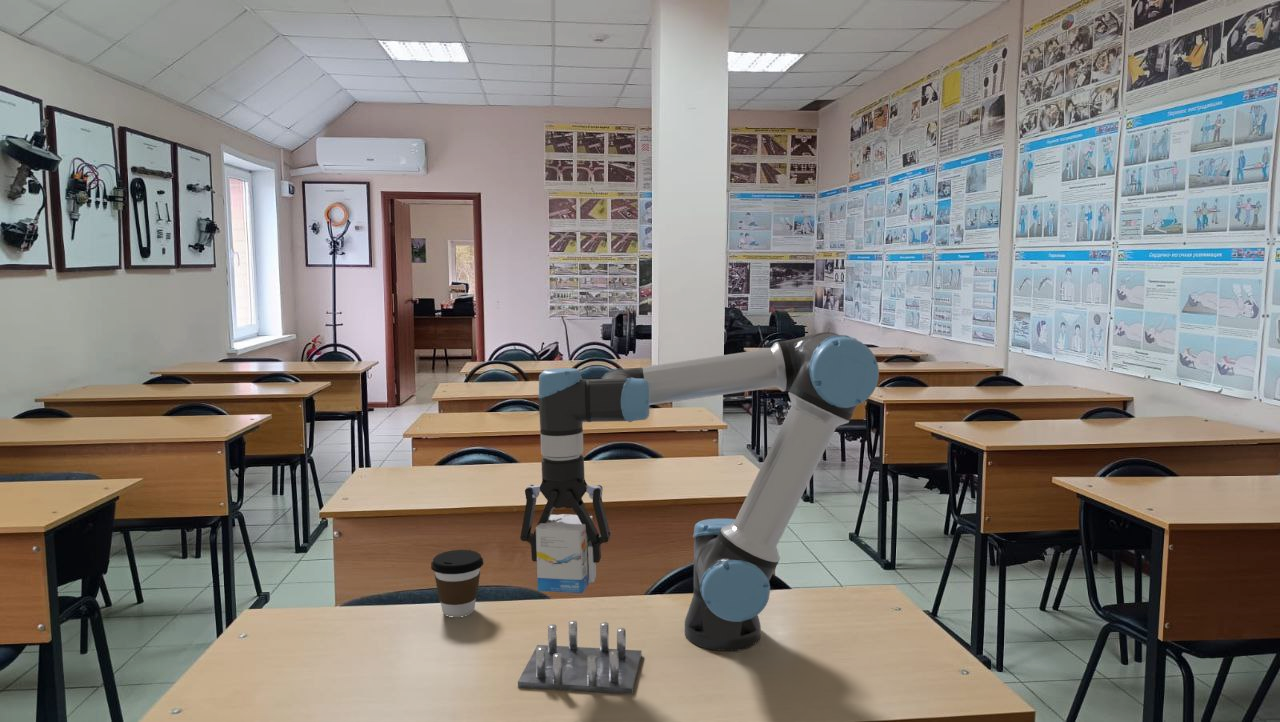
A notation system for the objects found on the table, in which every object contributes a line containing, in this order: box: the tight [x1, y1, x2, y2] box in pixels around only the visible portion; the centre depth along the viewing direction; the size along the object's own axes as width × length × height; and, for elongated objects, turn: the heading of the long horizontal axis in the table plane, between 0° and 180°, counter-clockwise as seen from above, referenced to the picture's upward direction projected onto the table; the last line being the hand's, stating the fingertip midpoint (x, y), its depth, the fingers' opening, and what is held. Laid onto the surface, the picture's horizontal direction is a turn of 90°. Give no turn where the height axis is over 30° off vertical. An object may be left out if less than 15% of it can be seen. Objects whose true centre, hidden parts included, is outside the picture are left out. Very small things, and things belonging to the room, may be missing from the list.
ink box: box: [535, 513, 594, 594], centre depth 141 cm, size 9×8×12 cm
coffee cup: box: [430, 549, 484, 617], centre depth 166 cm, size 11×11×12 cm
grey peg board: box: [517, 620, 642, 695], centre depth 141 cm, size 20×15×6 cm
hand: (567, 578), depth 141 cm, fingers closed on ink box, 9 cm apart
